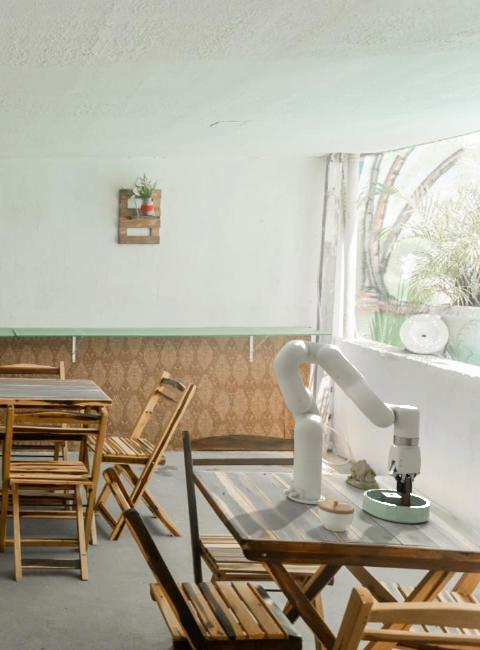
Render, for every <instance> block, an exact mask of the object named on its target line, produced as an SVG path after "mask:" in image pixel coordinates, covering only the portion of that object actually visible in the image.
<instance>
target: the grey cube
mask: <svg viewBox="0 0 480 650" xmlns="http://www.w3.org/2000/svg"><path fill="white" fill-rule="evenodd" d="M381 502H383V503H386V504H392V505H397V506H399V504H400V505H401V496H399V495H398V494H397V493H385V492H381Z"/></svg>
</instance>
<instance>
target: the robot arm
mask: <svg viewBox="0 0 480 650" xmlns="http://www.w3.org/2000/svg"><path fill="white" fill-rule="evenodd" d="M301 363H306V364H312V365H319V366H320V367H321V368H322V369H323V371H324V372H325V373H326V374H327V375H328V376H329V377H330V378H331V379H332V380H333V381H334V383H335V384H336V385H337V386H338V387H339V388H340V389H341V391H343V393H344V394H345V395H346V397H348V398H349V399H350V400H351V401H352V403H353V404H354V405H355V406H356V407H357V408H358V409H359V411H360V412H361V413H362V414H363V415H364V416H365V417H366V418H367V420H369V421H370V423H371V424H373V426H375V427H378V428H380V429H381V428H382V429H386V428H389V427H391V426H392V425H393V438H392V439H393V440H392V443H391V445H390V449H389V452H388V459H387V460H388V461H387V470H388V471H389V473H388V475H389V476H390V477H393V478H394V480H395V481H396V487H395V488H396V491H397V492H399V493H402V494H405V492H406V483H404V481H405V476H406V477H410V494H413V483H414V481H415V478H416V477H417V476H419V475H420V474H421V468H422V454H421V447H420V421H421V420H420V419H421V411H420V409H419V408H418V407H416V406H411V405H397V404H392V403H386V402H384V401H382V399H381V398H380V397H379V396H378V395H377V393H375V391H374V390H373V389H372V388H371V386H370V385H369V383H368V381H367V379H366V378H365V376H364V375H363V374H362V373H361V372H360V371H359V370H358V369H357V368H356V367H355V366H354V365H353V364H352V363H351V362H350V361H349V360H348V358H346V356H345V355H344V353H342V351H341V349H340V348H339V347H338V346H337V345H334V344H332V343H331V344H330V343H325V342H324V343H323V342H316V341H310V340H309V341H308V340H304V339H303V340H302V339H293V340H289V341H288V342H287V343H285V345H283V347H281V348H280V349H279V351H278V352H277V353H276V355H275V356H274V360H273V366H272V367H273V372H274V375H275V379H276V382H277V384H278V388H279V390H280V393H281V396H282V398H283V402H284V404H285V406H286V408H287V409H288V411H290V413H291V415H292V418H293V420H294V426H293V427H294V428H293V466H292V467H293V472H292V485H290V488H288V489H282V490H281V494H282V495H284V496H286V495H287V497H288V499H290V500H292V501H294V502H297V503H301V504H307V505H318V502H319V501H323V500H326V497H325V496H324V495H322V476H323V474H322V473H323V444H324V443H323V442H324V441H323V439H324V427H325V425H324V420H323V417H322V415H321V412H320V410H319V407H318V405H317V403H316V400H315V397H314V395H313V393H312V391H311V390H310V389H309V388H308V387H306V386H305V383H304V380H303V378H302V374H301V373H300V370H299V366H300V364H301Z"/></svg>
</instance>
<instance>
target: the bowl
mask: <svg viewBox="0 0 480 650" xmlns="http://www.w3.org/2000/svg"><path fill="white" fill-rule="evenodd" d="M381 492H385V493H397V494H398V495H399V496H401V493H399V492H397V491H396V490H395V489H388V488H377V489H366V490H365V491H364V492H363V493H362V494H363V495H362V508H363V510H364V511H365V512H366V513H368V514H370V515H371V516H374V517H376V518H379V519H382V520H385V521H390V522H393V523H400V524H419V523H424V522H427V521H429V519H430V510H431V509H430V508H431V503H430V501H429V500H428V499H426V498H424V497H422V496H419V495H417V494H415V493H410V499H411V505H412V506H413V507H405V506H397V505H392V504H386V503H383V502H381Z"/></svg>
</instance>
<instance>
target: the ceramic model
mask: <svg viewBox="0 0 480 650" xmlns="http://www.w3.org/2000/svg"><path fill="white" fill-rule="evenodd" d="M349 471H350V475H348V476H347V480H346V482H347V483H348V484H349V485H352V486H354V487H356V488H359V489H363V490H371V489H380V488H379V487H380V486H379V485H380V484H379V483H378V482H377V479H375V478H376V477H377V476H378V475H377V473H376V471H375V470H374V469H373V468H372V467H371V465H370V464H369V463H368V462H367V460H366V459H359V460H358V461H357V462H355V463H354V464H352V465H351V467H350V468H349Z"/></svg>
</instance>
